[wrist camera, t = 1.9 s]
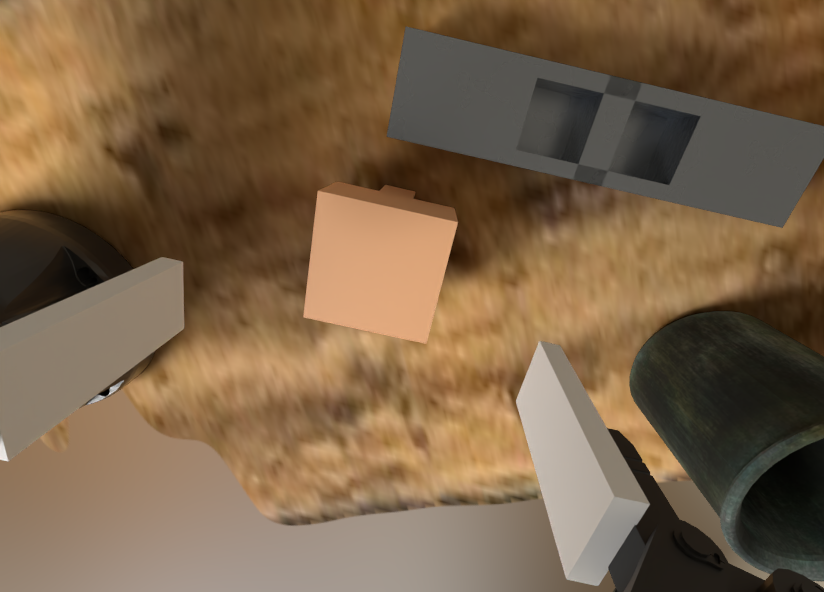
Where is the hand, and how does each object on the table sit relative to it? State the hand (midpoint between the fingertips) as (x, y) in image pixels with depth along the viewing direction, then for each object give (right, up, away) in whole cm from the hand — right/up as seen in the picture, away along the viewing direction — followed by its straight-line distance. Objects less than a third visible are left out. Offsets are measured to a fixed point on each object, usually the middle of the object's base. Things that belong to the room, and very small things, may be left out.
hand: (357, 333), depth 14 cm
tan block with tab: (+1, +5, +13) cm, 14 cm away
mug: (+25, -4, +15) cm, 29 cm away
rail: (+12, +11, +9) cm, 19 cm away
